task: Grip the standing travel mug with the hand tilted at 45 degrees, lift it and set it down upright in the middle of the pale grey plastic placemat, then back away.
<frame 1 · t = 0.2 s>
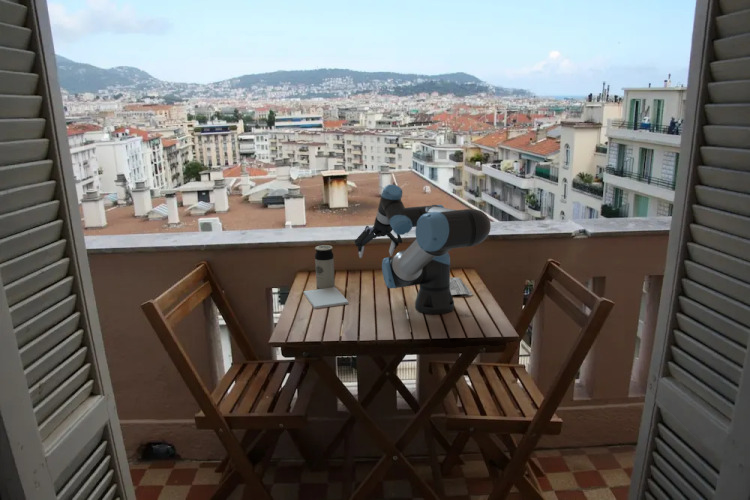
hand: (375, 254, 234), 16 cm above the table, fingers open, 13 cm apart
travel mug: (325, 287, 244), on the table
placemat: (325, 298, 229), on the table
newspaper: (454, 290, 239), on the table
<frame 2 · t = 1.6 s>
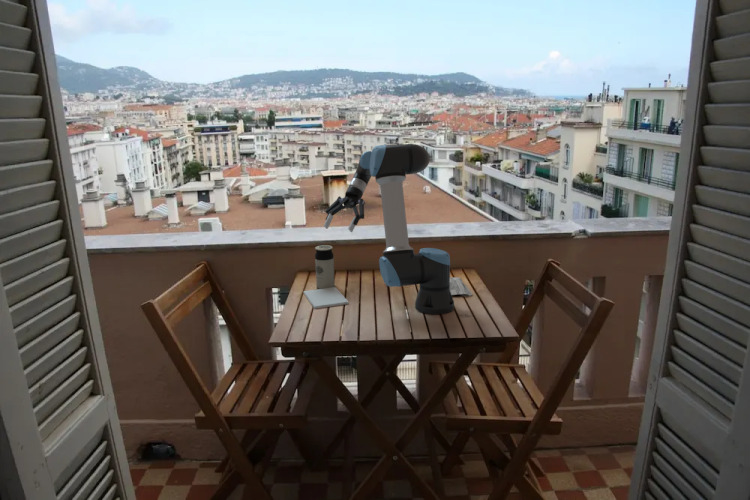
hand: (337, 228, 247), 24 cm above the table, fingers open, 13 cm apart
nothing on the table moved.
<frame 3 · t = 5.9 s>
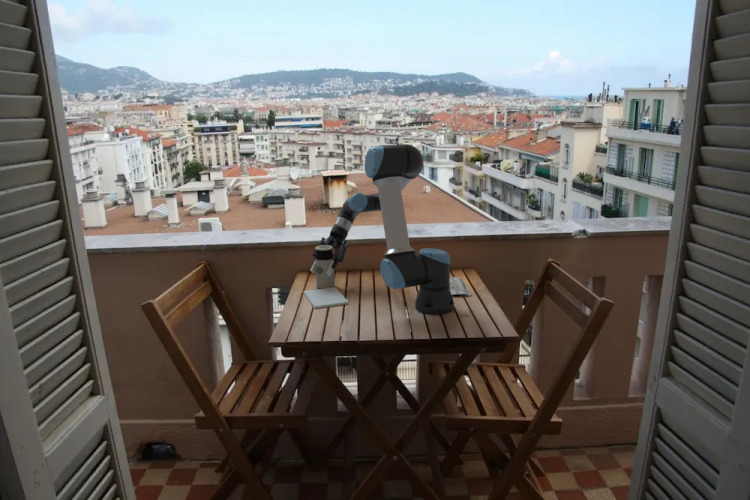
hand: (320, 273, 240), 7 cm above the table, fingers closed on travel mug, 8 cm apart
travel mug: (325, 287, 244), on the table, touching gripper
everything else where it was.
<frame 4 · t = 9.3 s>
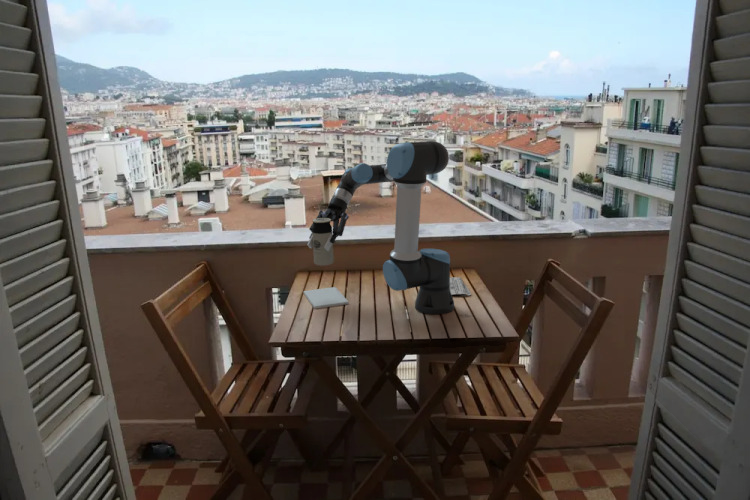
hand: (317, 247, 221), 22 cm above the table, fingers closed on travel mug, 8 cm apart
travel mug: (323, 263, 226), point 15 cm above the table, touching gripper
everything else where it was.
when the fingers open (10 cm above the table, at t = 12.8 s): travel mug drops 1 cm, resting on placemat.
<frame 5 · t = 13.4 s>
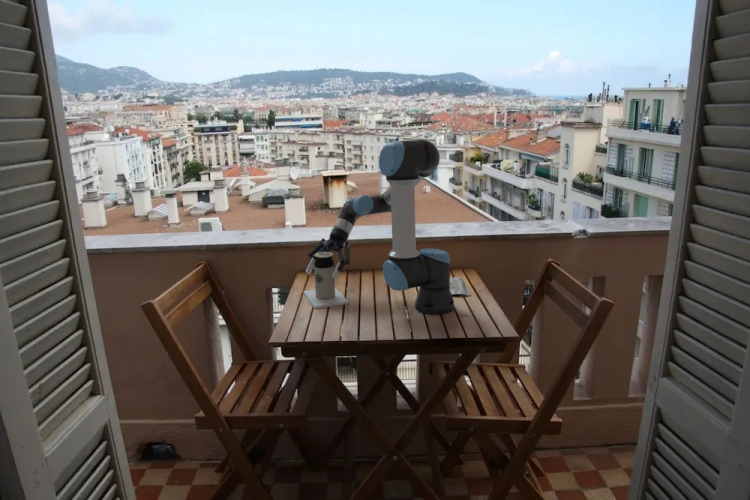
hand: (320, 275, 225), 11 cm above the table, fingers open, 13 cm apart
travel mug: (325, 296, 229), point 1 cm above the table, touching placemat
everything else where it was.
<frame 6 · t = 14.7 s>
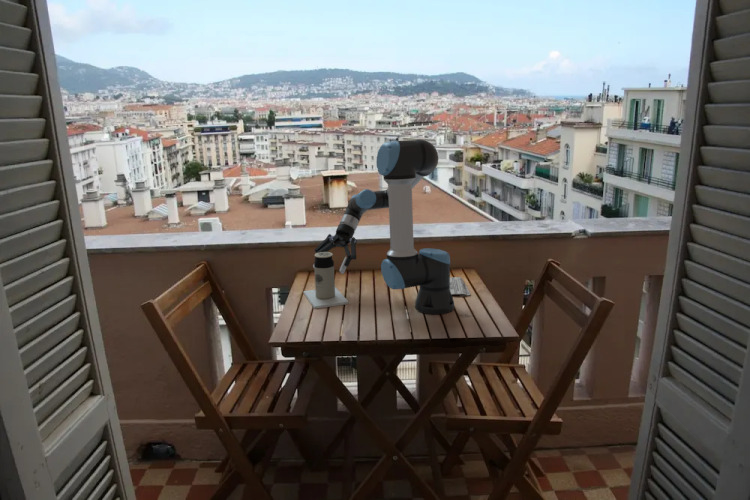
hand: (327, 270, 229), 11 cm above the table, fingers open, 13 cm apart
nothing on the table moved.
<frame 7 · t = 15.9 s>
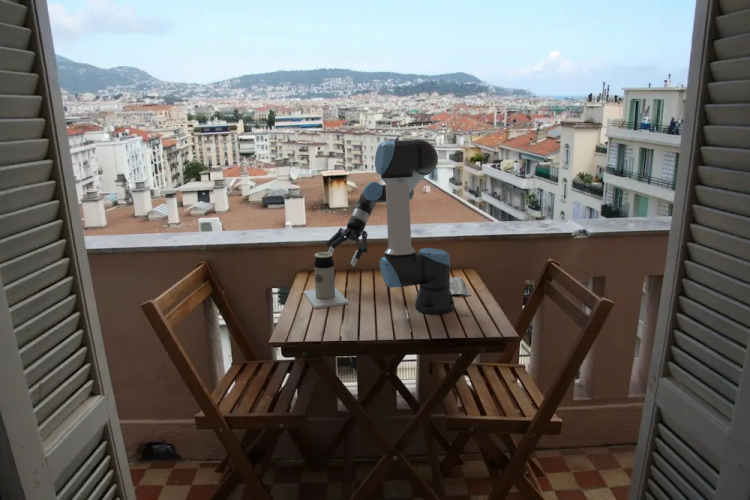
hand: (339, 262, 235), 13 cm above the table, fingers open, 13 cm apart
nothing on the table moved.
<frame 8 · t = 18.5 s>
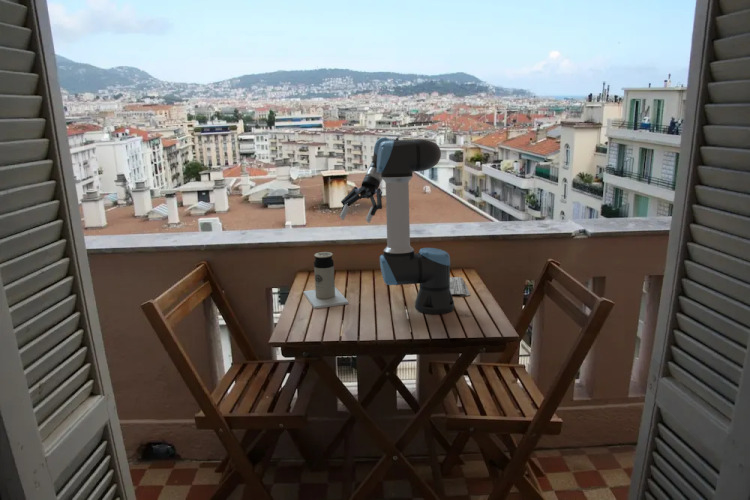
hand: (354, 219, 238), 30 cm above the table, fingers open, 13 cm apart
nothing on the table moved.
at the end: travel mug inside the target area on the placemat (0.1 cm from its centre), point 0.8 cm above the placemat's base; travel mug tilted 0°; the gripper is holding nothing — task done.
